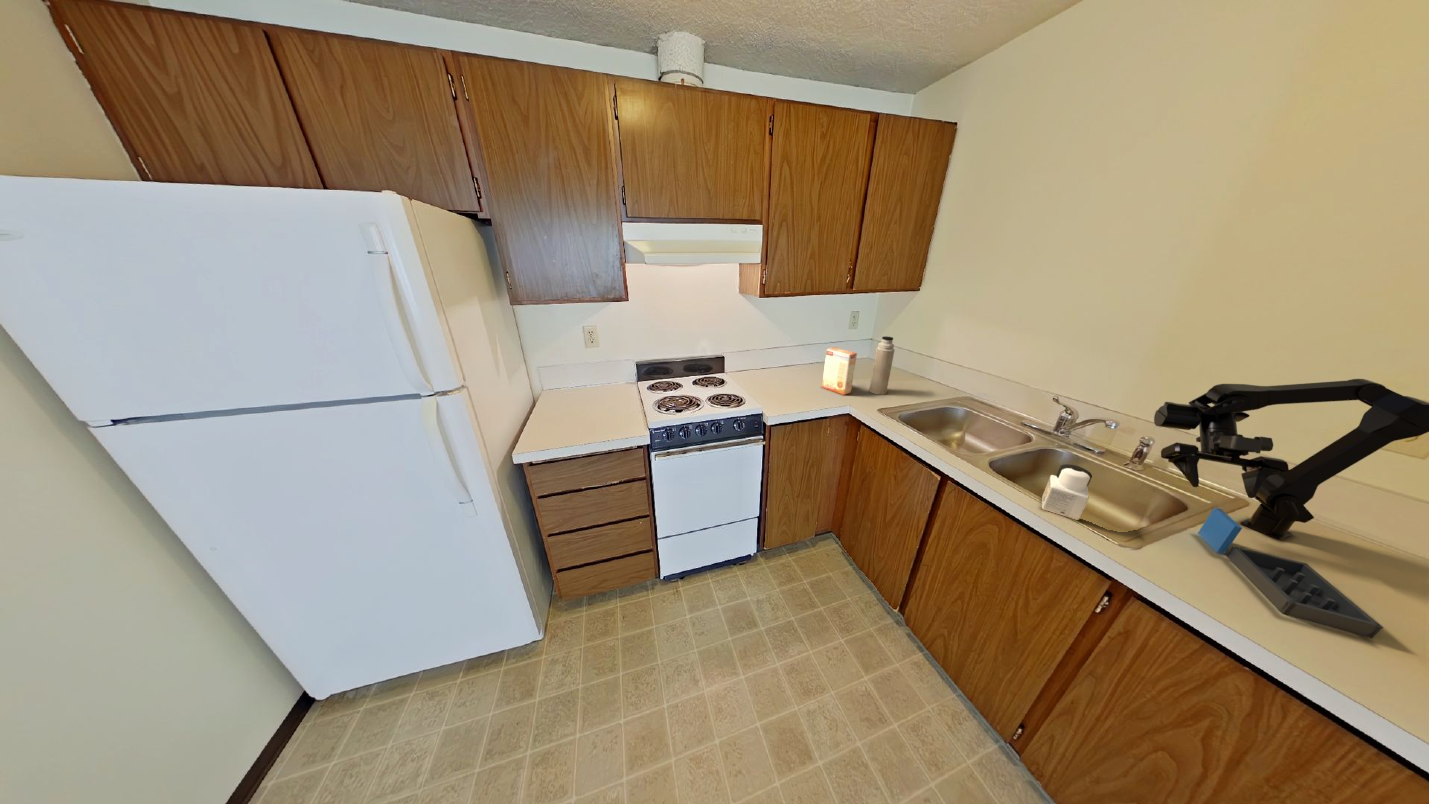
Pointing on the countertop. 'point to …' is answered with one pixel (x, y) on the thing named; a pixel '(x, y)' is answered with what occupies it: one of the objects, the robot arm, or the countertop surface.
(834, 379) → the cracker box
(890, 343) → the thermos bottle
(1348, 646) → the countertop surface
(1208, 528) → the blue rectangular block
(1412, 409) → the robot arm
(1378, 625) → the dish rack
